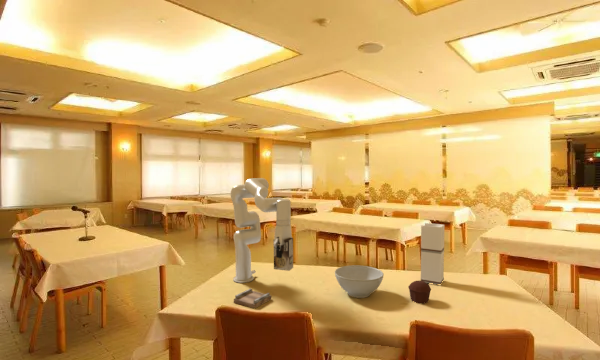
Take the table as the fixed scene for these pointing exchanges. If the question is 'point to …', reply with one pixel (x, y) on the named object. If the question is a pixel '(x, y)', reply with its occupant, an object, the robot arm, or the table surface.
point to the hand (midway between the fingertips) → (283, 255)
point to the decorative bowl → (359, 280)
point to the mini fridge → (432, 253)
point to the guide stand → (251, 298)
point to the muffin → (419, 291)
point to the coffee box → (284, 256)
